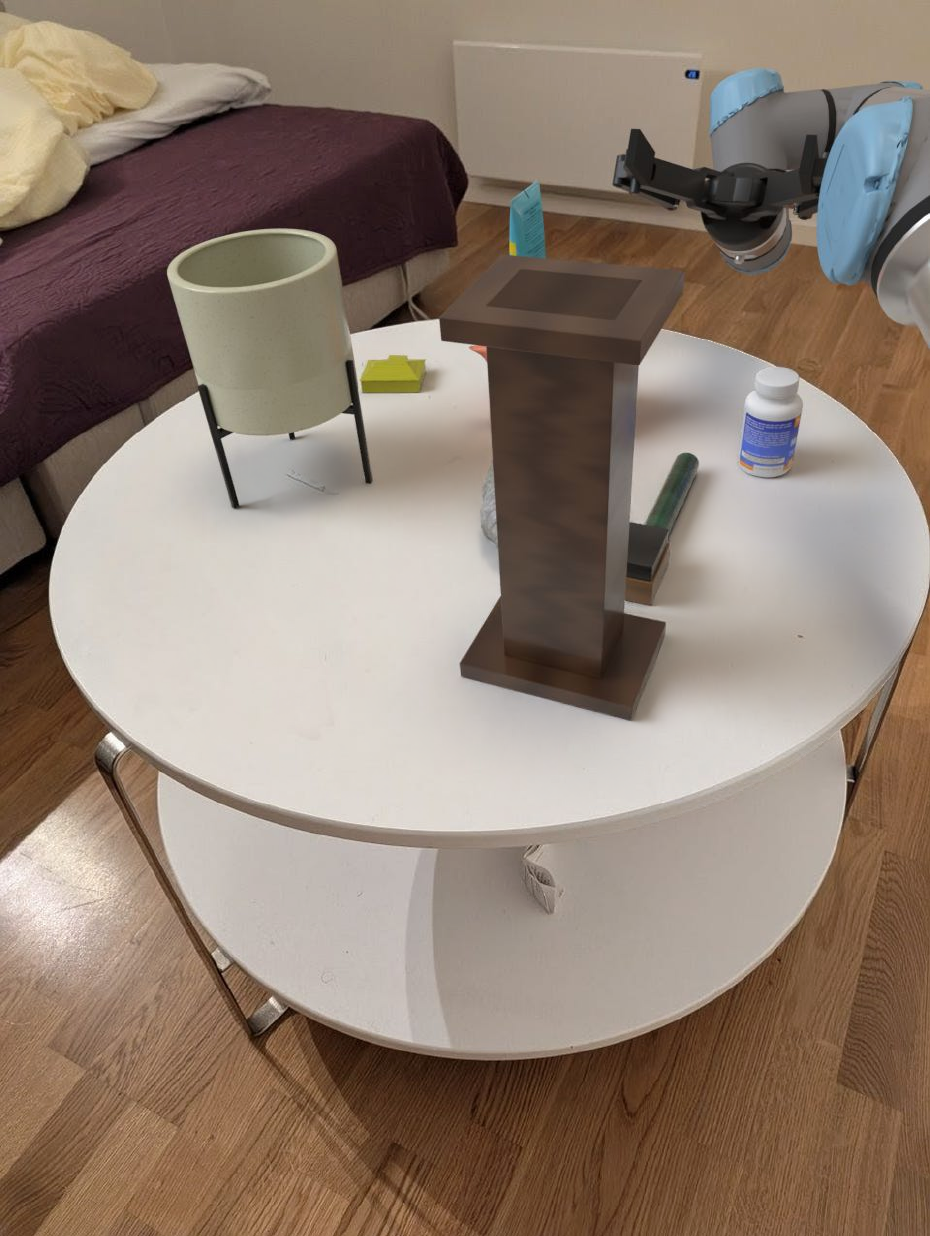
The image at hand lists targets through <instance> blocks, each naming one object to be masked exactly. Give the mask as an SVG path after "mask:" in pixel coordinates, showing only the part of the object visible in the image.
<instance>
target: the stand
mask: <svg viewBox="0 0 930 1236" xmlns="http://www.w3.org/2000/svg"><path fill="white" fill-rule="evenodd" d="M685 273H686V271H685V270H682V269H672V268H658V267H647V266H638V265H637V266H636V265H625V264H614V263H613V264H612V263H601V262H591V261H590V262H589V261H579V260H566V259H556V258H547V257H546V258H535V257H523V256H512V255H510V254H501V255H500V256H499V257H498V258H497V259H496V261H494V262H493V263H492V264H491V265H490V266H489V267H488V268H487V269H486V270H485V271H484V272H483V273H482V274H481V275H480V276H479V277H477V279H476V280H475V281H474V282H473V283H472V284H471V285H470V286H469V287H468V288H467V289H466V290H465V291H464V292H463V293H461V295H460V296H459V297H458V298H457V299H456V300H455V301H454V302H453V303H452V304H450V306H449V307H448V308H447V309H446V310H445V311H444V312H443V313H442V314H441V315H440V316H439V317H438V321H439V322H438V323H439V331H440V341H441V342H445V343H455V344H462V345H463V344H464V345H469V346H476V345H478V346H486V350H487V362H486V366H487V382H488V383H487V384H488V398H489V399H488V400H489V401H488V403H489V417H490V435H491V451H492V461H493V471H494V488H495V505H496V522H497V540H498V548H497V555H498V572H499V589H500V590H499V591H500V596H499V597H498V599H497V601H496V603H495V604H494V606H493V607H492V610H491V611H490V613H489V614H488V616H487V618H486V619H485V620H484V623H483V624H482V625H481V628H480V629H479V631H478V632H477V634H476V636H475V637H474V639H473V641H472V642H471V644H470V646H469V647H468V649H467V650H466V652H465V654H464V656H463V657H462V659H461V660H460V662H459V670H460V677H461V678H465V679H469V680H474V681H478V682H481V683H484V684H488V685H493V686H496V687H500V688H504V689H508V690H512V691H516V692H520V693H524V694H527V695H531V696H534V697H538V698H542V699H547V700H549V701H553V702H558V703H562V704H565V705H570V706H573V707H577V708H580V709H585V710H588V711H593V712H597V713H599V714H600V713H601V714H604V715H608V716H611V717H616V718H619V719H624V720H627V721H632V720H633V718H634V716H635V713H636V710H637V707H638V705H639V703H640V700H641V697H642V695H643V693H644V689H645V687H646V685H647V682H648V680H649V676H650V674H651V672H652V670H653V666H654V664H655V661H656V660H657V657H658V654H659V652H660V649H661V646H662V644H663V642H664V639H665V635H666V627H667V622H666V621H662V620H657V619H653V618H648V617H644V616H639V615H635V614H630V613H626V612H625V604H626V603H625V602H626V600H625V589H626V573H627V556H628V539H629V522H631V520H630V519H631V502H632V489H633V488H632V486H633V471H634V453H635V452H634V450H635V435H636V434H635V433H636V419H637V402H638V387H639V385H638V384H639V368H640V365H641V364H642V362H643V360H644V358H645V357H646V356H647V354H648V352H649V351H650V349H651V347H652V345H653V344H654V342H655V340H656V339H657V337H658V335H659V334H660V332H661V330H662V329H663V328H664V326H665V324H666V323H667V321H668V319H669V318H670V316H671V314H672V313H673V312H674V309H675V308H676V306H677V304H678V303H679V301H680V299H681V297H682V296H683V294H684V285H685Z"/></svg>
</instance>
